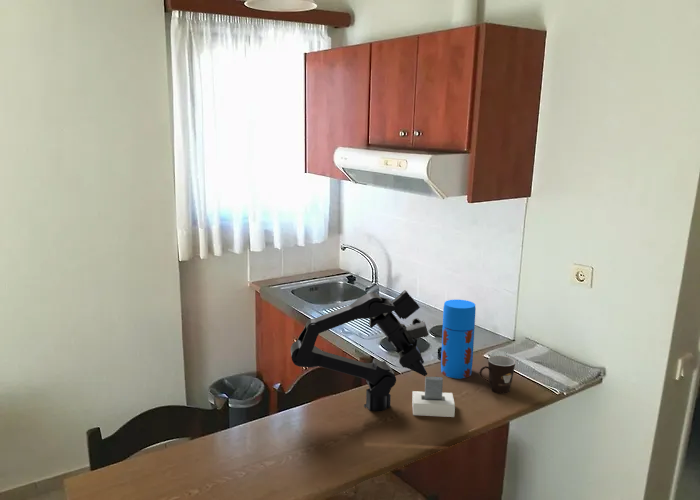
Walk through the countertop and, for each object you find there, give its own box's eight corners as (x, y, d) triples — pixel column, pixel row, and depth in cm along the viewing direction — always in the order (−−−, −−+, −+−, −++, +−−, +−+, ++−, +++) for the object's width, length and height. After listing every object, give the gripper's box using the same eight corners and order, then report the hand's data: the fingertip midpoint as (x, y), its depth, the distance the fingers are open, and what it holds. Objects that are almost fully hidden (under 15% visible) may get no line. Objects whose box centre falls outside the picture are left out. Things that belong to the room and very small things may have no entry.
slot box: (412, 417, 165) (413, 403, 164) (412, 404, 173) (412, 391, 172) (454, 419, 164) (454, 405, 163) (451, 406, 172) (452, 392, 171)
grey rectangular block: (424, 410, 168) (425, 379, 166) (424, 407, 170) (425, 376, 168) (441, 411, 167) (442, 380, 165) (440, 408, 169) (442, 377, 167)
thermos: (434, 369, 200) (437, 301, 195) (459, 364, 204) (463, 298, 199) (452, 380, 190) (456, 310, 185) (478, 375, 195) (482, 306, 190)
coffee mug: (510, 384, 188) (512, 356, 186) (515, 396, 180) (517, 366, 178) (475, 382, 189) (477, 354, 187) (478, 394, 181) (480, 364, 179)
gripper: (417, 322, 155) (451, 365, 157) (412, 304, 173) (442, 342, 175) (385, 345, 156) (419, 388, 158) (383, 325, 175) (413, 363, 177)
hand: (424, 368), depth 167 cm, fingers open, 9 cm apart
